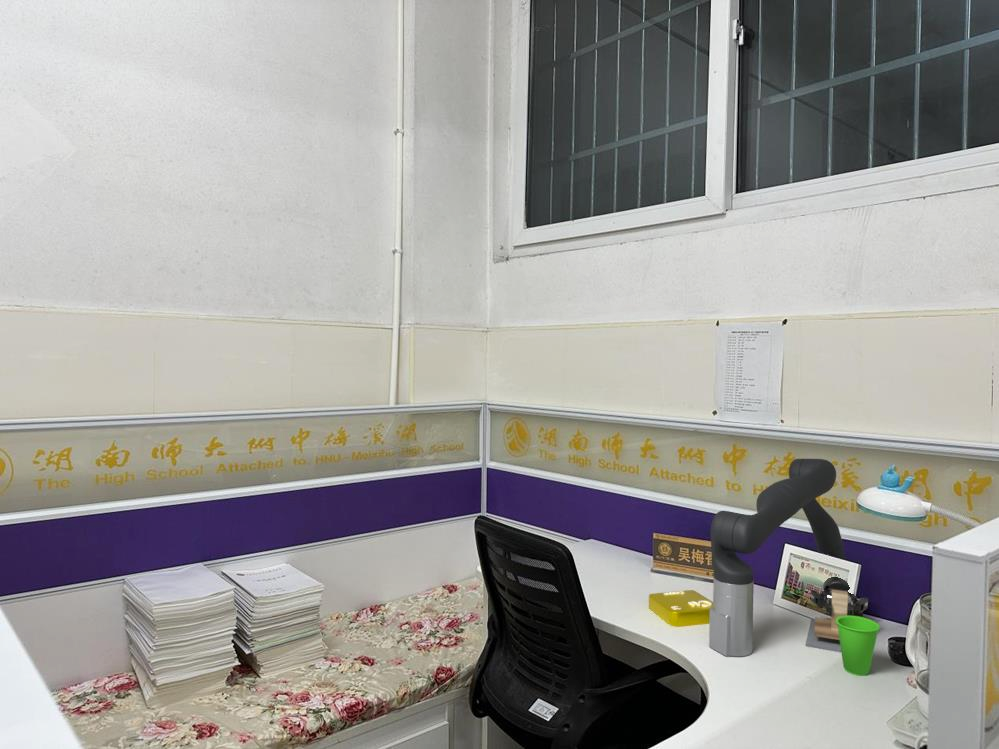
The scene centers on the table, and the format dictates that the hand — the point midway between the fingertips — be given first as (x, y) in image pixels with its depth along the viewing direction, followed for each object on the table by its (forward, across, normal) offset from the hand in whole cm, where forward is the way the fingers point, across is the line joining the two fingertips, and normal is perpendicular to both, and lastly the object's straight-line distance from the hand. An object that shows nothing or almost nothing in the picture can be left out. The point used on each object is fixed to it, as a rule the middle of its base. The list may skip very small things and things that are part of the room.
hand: (839, 611), depth 173 cm
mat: (-4, 0, +8) cm, 9 cm away
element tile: (-4, -38, +9) cm, 40 cm away
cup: (+14, +3, +8) cm, 16 cm away
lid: (-3, 0, +6) cm, 7 cm away
